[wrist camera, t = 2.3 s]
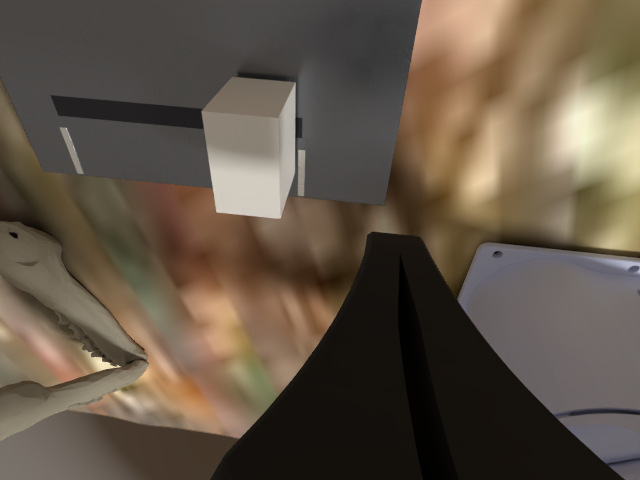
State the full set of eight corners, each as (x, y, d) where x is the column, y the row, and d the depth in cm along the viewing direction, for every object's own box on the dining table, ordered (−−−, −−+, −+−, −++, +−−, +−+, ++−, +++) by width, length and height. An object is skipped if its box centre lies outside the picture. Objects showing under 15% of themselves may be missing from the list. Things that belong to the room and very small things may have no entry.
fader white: (295, 82, 15) (278, 118, 13) (294, 172, 18) (280, 218, 15) (231, 76, 15) (201, 111, 13) (240, 167, 18) (216, 212, 15)
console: (469, -298, 10) (481, -326, 9) (383, 188, 20) (384, 206, 19) (-134, -317, 11) (-193, -344, 10) (61, 157, 21) (42, 171, 20)
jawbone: (112, 301, 37) (-79, 232, 24) (182, 274, 35) (20, 186, 22) (106, 470, 30) (-165, 502, 17) (192, 445, 29) (-30, 460, 16)
